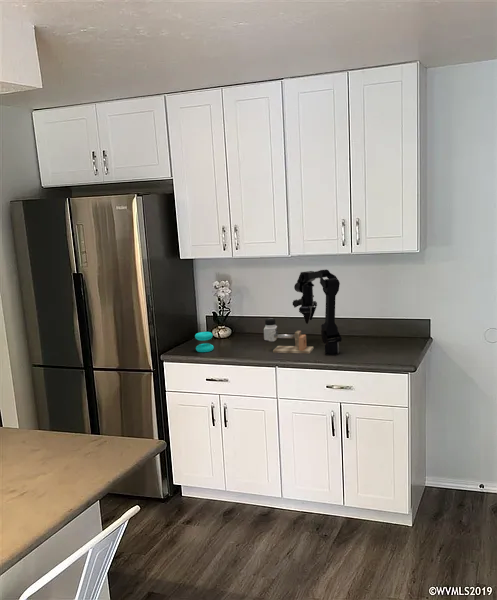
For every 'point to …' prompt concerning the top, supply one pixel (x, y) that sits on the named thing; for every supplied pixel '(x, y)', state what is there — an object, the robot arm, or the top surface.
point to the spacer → (302, 342)
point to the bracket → (293, 347)
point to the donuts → (202, 337)
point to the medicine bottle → (269, 327)
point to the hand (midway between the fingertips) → (308, 321)
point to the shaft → (279, 335)
